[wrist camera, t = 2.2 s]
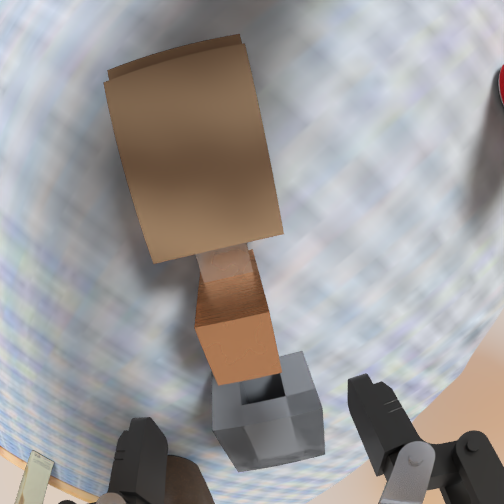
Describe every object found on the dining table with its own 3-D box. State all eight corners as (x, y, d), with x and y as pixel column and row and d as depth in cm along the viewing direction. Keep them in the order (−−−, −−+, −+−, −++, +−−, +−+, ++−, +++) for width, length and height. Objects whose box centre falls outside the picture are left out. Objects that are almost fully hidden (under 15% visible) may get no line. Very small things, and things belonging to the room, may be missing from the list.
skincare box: (32, 448, 31) (14, 505, 19) (55, 461, 32) (39, 519, 21) (28, 457, 32) (12, 509, 21) (49, 469, 34) (36, 521, 22)
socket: (211, 370, 25) (212, 430, 19) (302, 351, 25) (322, 408, 19) (233, 420, 28) (238, 472, 22) (309, 404, 28) (325, 454, 22)
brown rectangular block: (134, 83, 16) (100, 67, 10) (234, 57, 16) (241, 28, 10) (171, 226, 20) (153, 264, 14) (265, 203, 20) (283, 234, 14)
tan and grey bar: (157, 92, 15) (119, 72, 9) (214, 78, 15) (210, 46, 9) (232, 356, 23) (238, 429, 17) (274, 347, 23) (292, 419, 17)
